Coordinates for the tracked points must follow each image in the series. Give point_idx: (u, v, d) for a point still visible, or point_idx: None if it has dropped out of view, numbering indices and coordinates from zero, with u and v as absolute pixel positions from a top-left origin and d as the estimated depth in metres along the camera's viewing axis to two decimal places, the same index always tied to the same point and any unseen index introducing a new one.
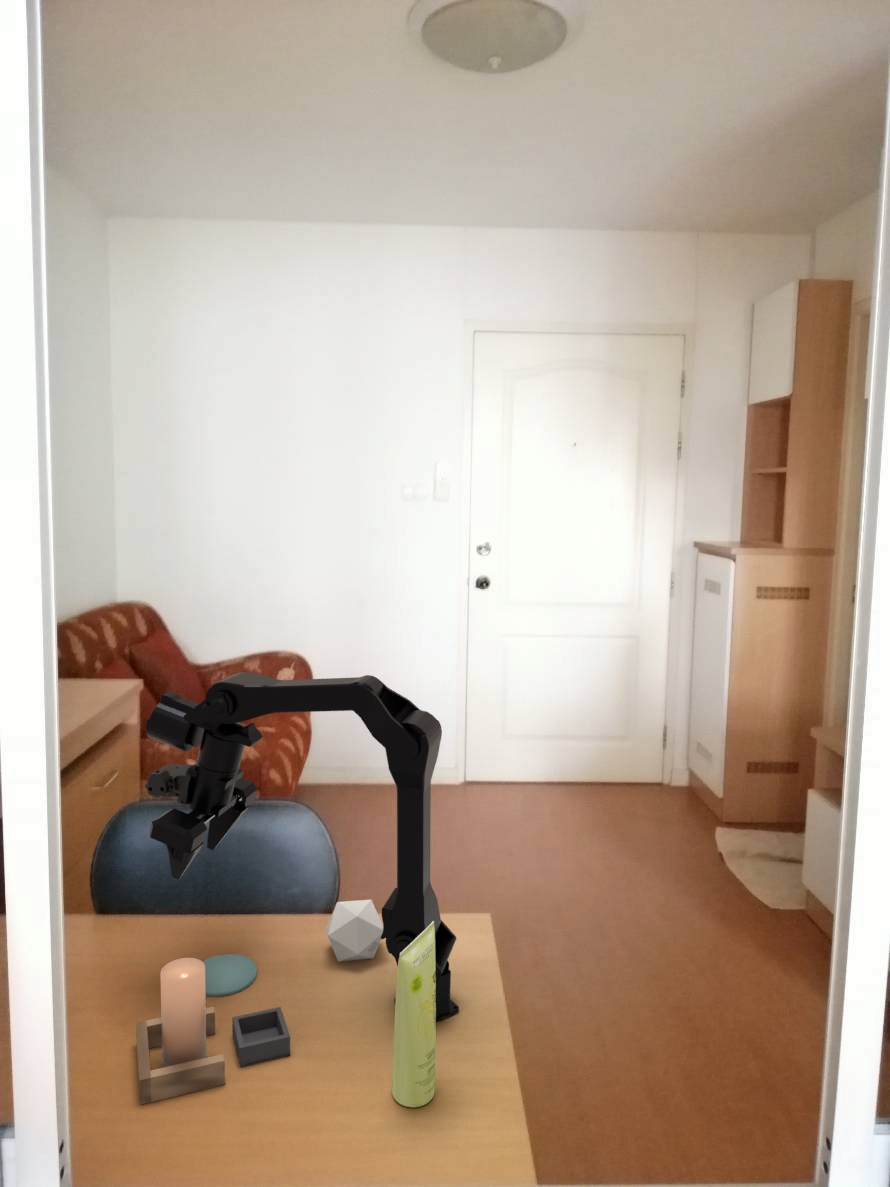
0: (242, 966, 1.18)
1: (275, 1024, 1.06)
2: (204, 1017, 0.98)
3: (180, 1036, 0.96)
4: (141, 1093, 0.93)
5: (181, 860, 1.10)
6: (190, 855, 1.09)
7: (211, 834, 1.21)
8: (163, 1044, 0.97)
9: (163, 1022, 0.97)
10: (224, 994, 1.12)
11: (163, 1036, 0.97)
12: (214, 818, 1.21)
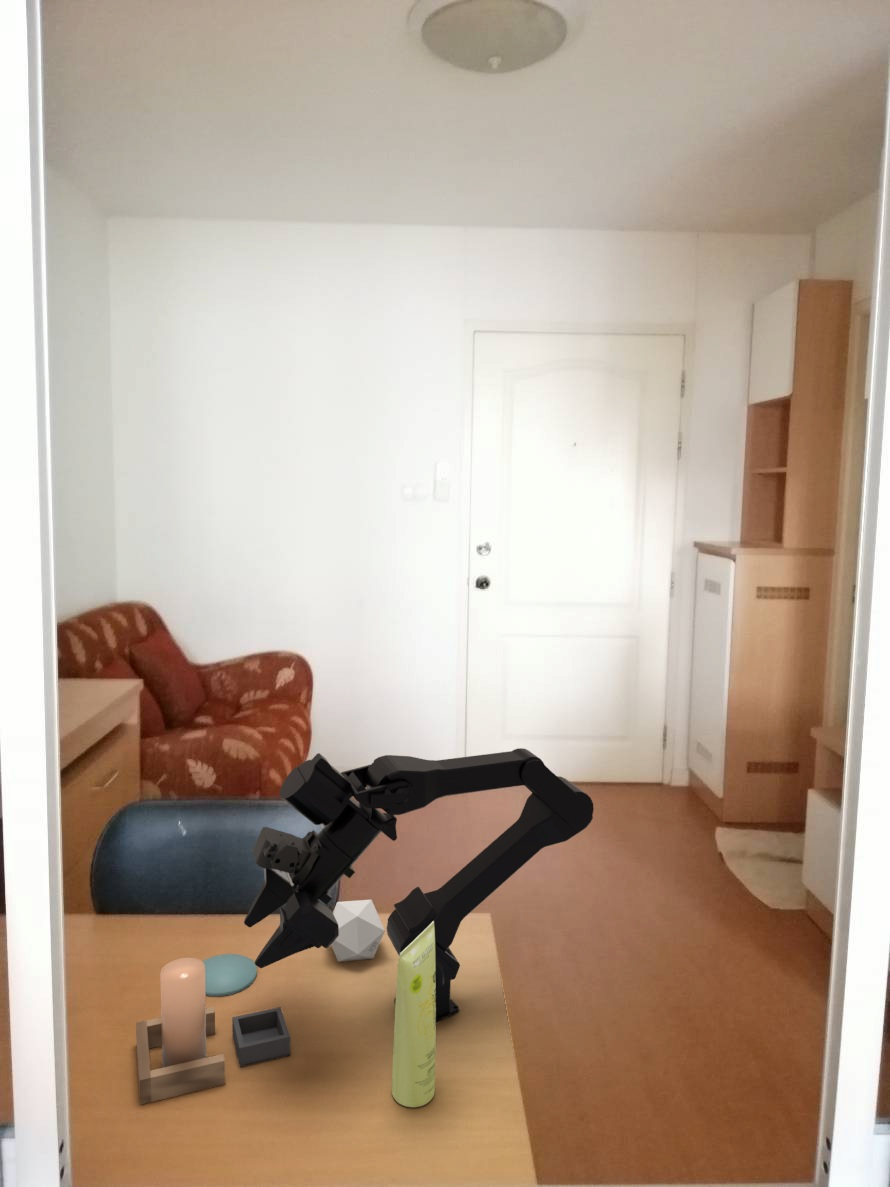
0: (242, 966, 1.18)
1: (275, 1024, 1.06)
2: (204, 1017, 0.98)
3: (180, 1036, 0.96)
4: (141, 1093, 0.93)
5: (286, 949, 0.96)
6: (305, 947, 0.96)
7: (256, 909, 1.05)
8: (163, 1044, 0.97)
9: (163, 1022, 0.97)
10: (224, 994, 1.12)
11: (163, 1036, 0.97)
12: (267, 892, 1.06)
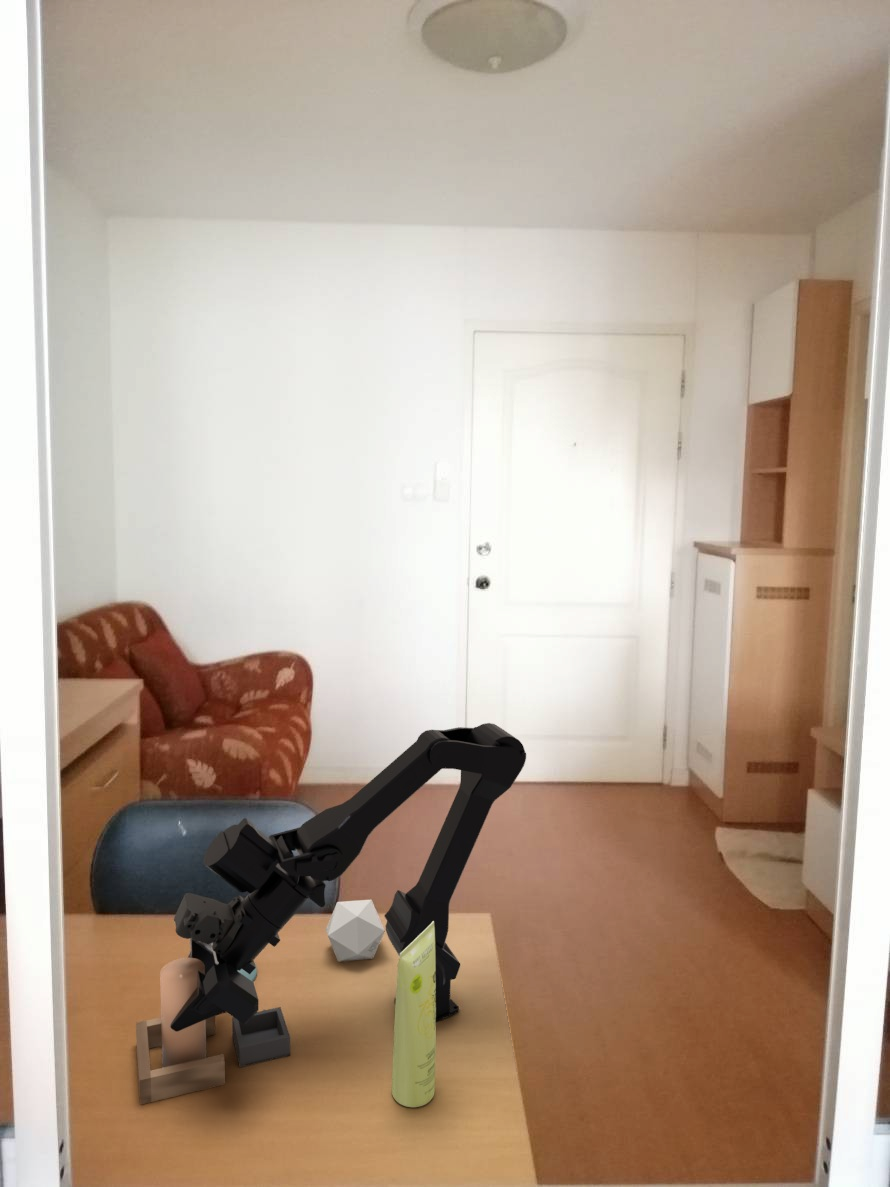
0: None
1: (275, 1024, 1.06)
2: None
3: (180, 1036, 0.96)
4: (141, 1093, 0.93)
5: (202, 1013, 0.95)
6: (222, 1010, 0.95)
7: None
8: (163, 1044, 0.97)
9: (163, 1022, 0.97)
10: None
11: (163, 1036, 0.97)
12: None
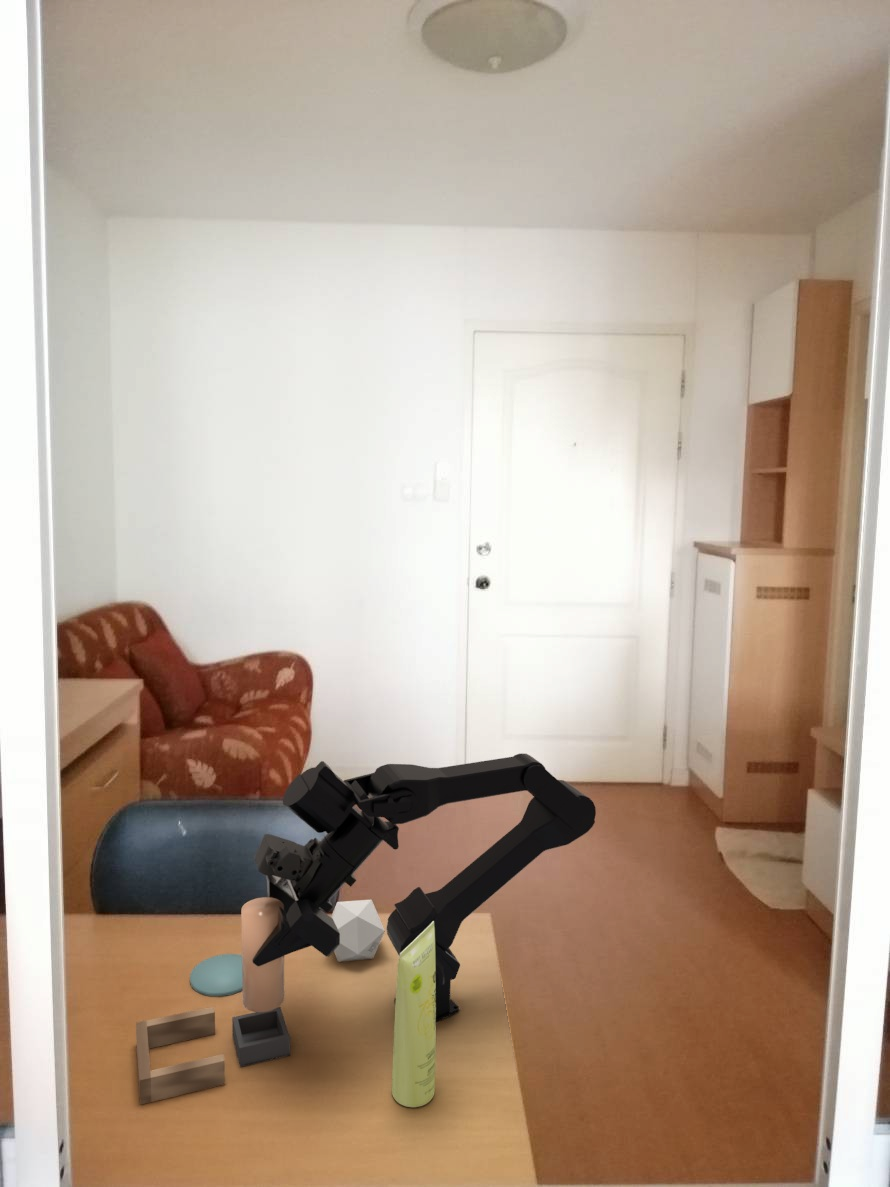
0: None
1: (275, 1024, 1.06)
2: None
3: (261, 971, 0.99)
4: (141, 1093, 0.93)
5: (283, 948, 0.98)
6: (302, 946, 0.98)
7: None
8: (244, 979, 1.00)
9: (244, 958, 1.00)
10: (224, 994, 1.12)
11: (244, 972, 1.00)
12: None
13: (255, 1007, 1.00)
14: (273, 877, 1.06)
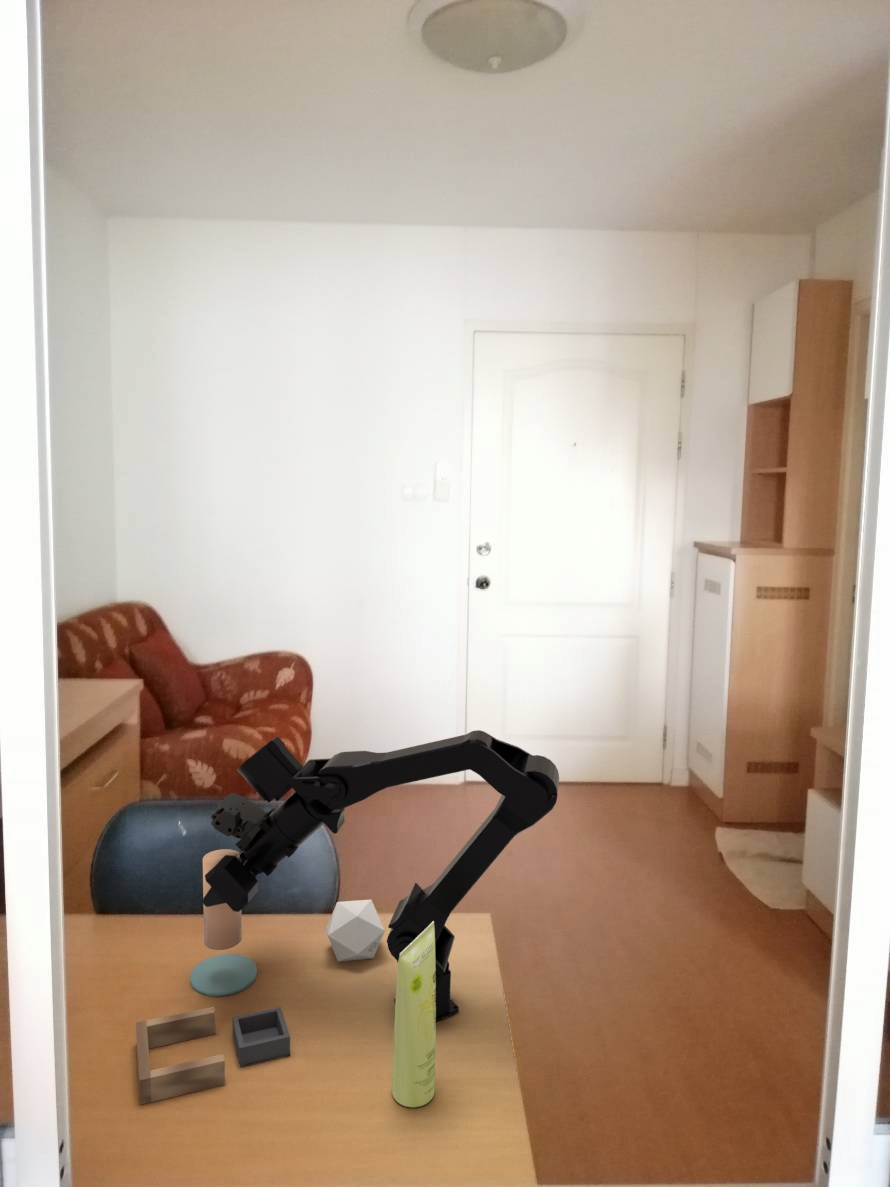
0: (242, 966, 1.18)
1: (275, 1024, 1.06)
2: None
3: (210, 912, 1.12)
4: (141, 1093, 0.93)
5: None
6: None
7: None
8: None
9: (203, 897, 1.13)
10: (224, 994, 1.12)
11: None
12: None
13: (207, 943, 1.13)
14: None
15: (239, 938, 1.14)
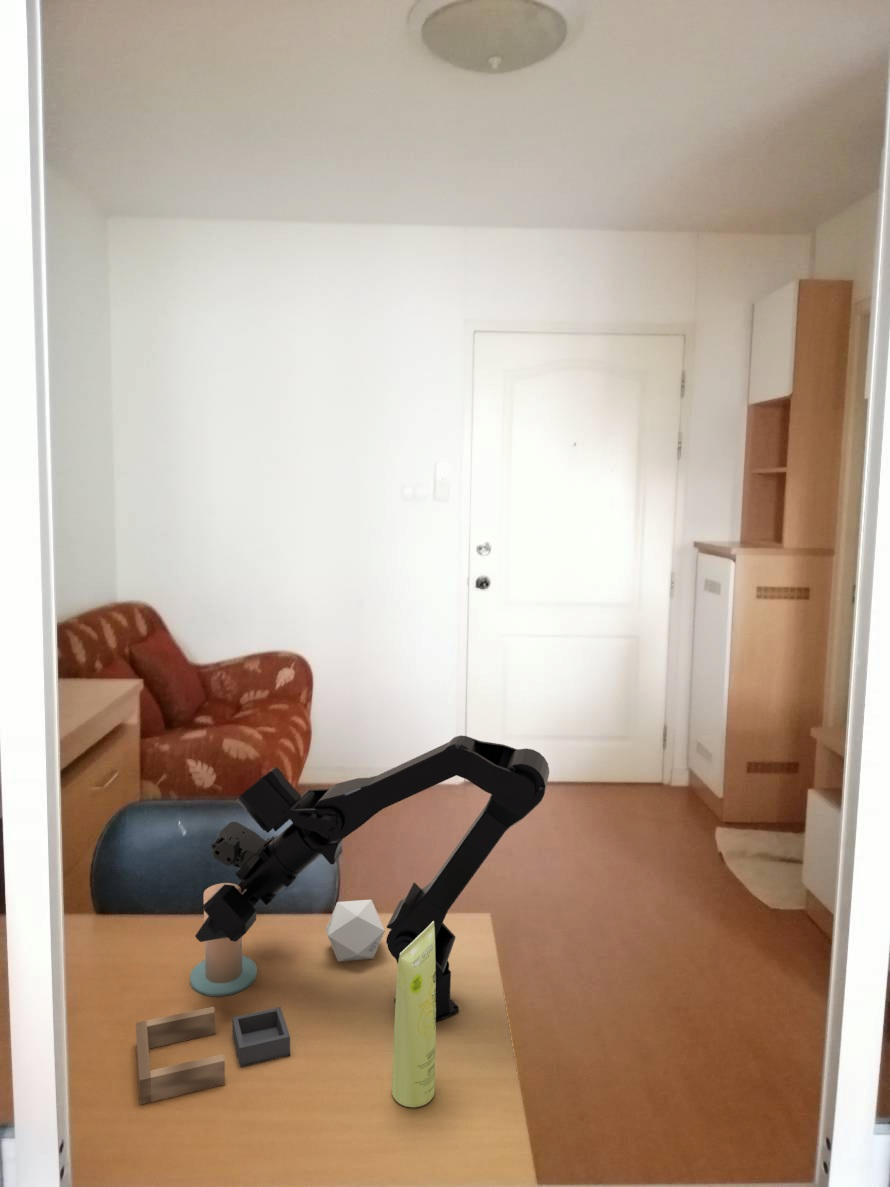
0: (242, 966, 1.18)
1: (275, 1024, 1.06)
2: None
3: (211, 946, 1.13)
4: (141, 1093, 0.93)
5: (215, 932, 1.09)
6: None
7: None
8: None
9: None
10: (224, 994, 1.12)
11: None
12: None
13: (208, 976, 1.14)
14: None
15: (240, 971, 1.16)
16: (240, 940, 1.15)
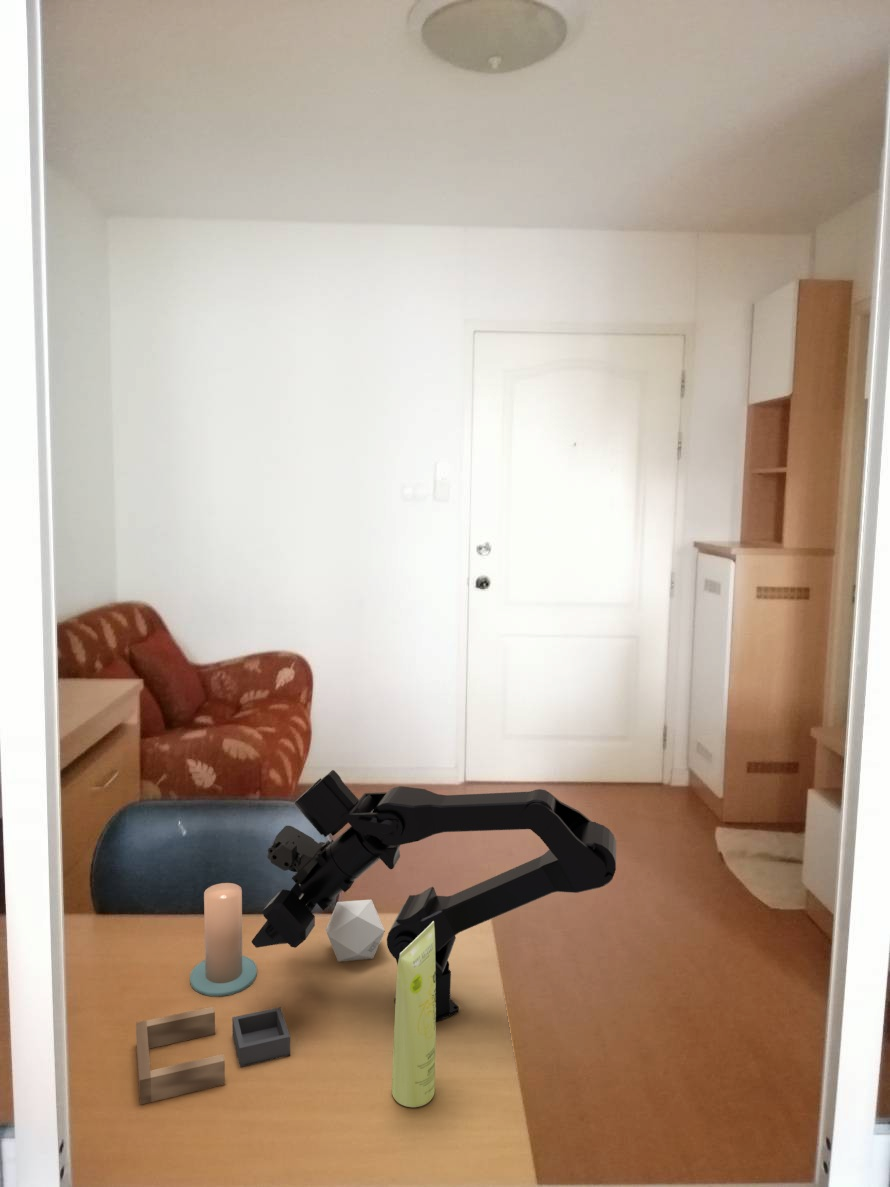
0: (242, 966, 1.18)
1: (275, 1024, 1.06)
2: (235, 938, 1.14)
3: (211, 946, 1.13)
4: (141, 1093, 0.93)
5: (272, 937, 1.07)
6: None
7: None
8: None
9: None
10: (224, 994, 1.12)
11: None
12: (300, 885, 1.18)
13: (208, 976, 1.14)
14: None
15: (240, 971, 1.16)
16: (240, 940, 1.15)
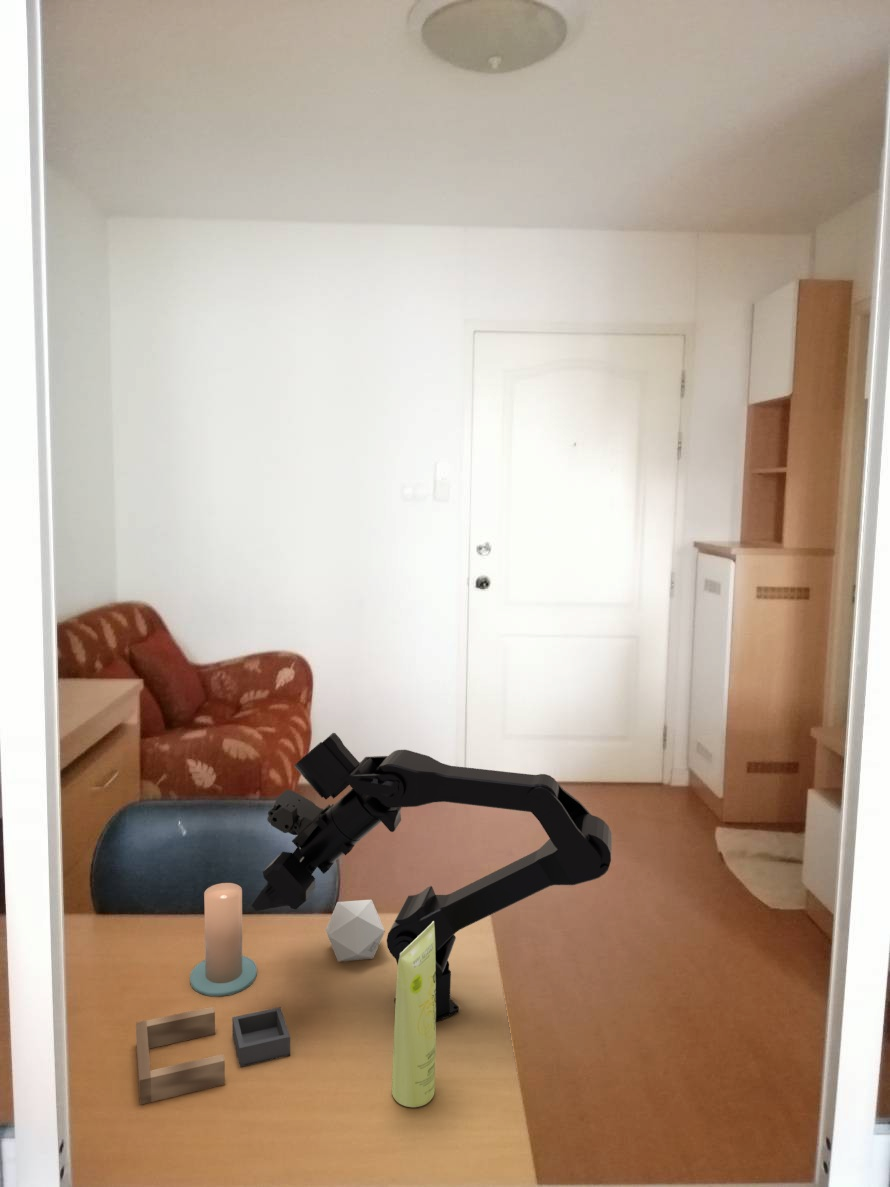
0: (242, 966, 1.18)
1: (275, 1024, 1.06)
2: (235, 938, 1.14)
3: (211, 946, 1.13)
4: (141, 1093, 0.93)
5: (272, 900, 1.07)
6: (286, 903, 1.06)
7: None
8: None
9: None
10: (224, 994, 1.12)
11: None
12: (300, 851, 1.17)
13: (208, 976, 1.14)
14: None
15: (240, 971, 1.16)
16: (240, 940, 1.15)
